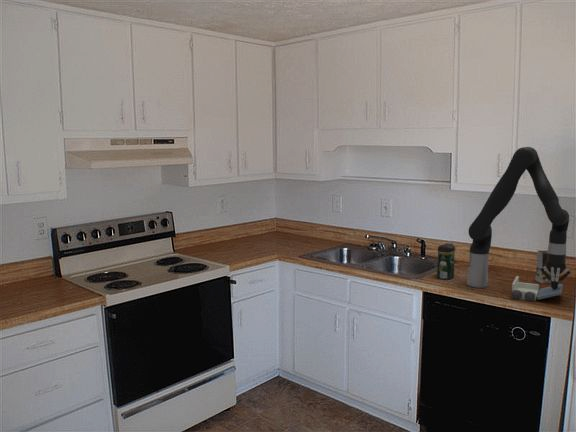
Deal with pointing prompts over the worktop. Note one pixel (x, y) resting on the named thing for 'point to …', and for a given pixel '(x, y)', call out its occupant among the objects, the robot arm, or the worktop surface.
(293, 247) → the worktop surface
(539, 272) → the coffee box
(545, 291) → the tailgate
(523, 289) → the cart
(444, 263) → the coffee jar
